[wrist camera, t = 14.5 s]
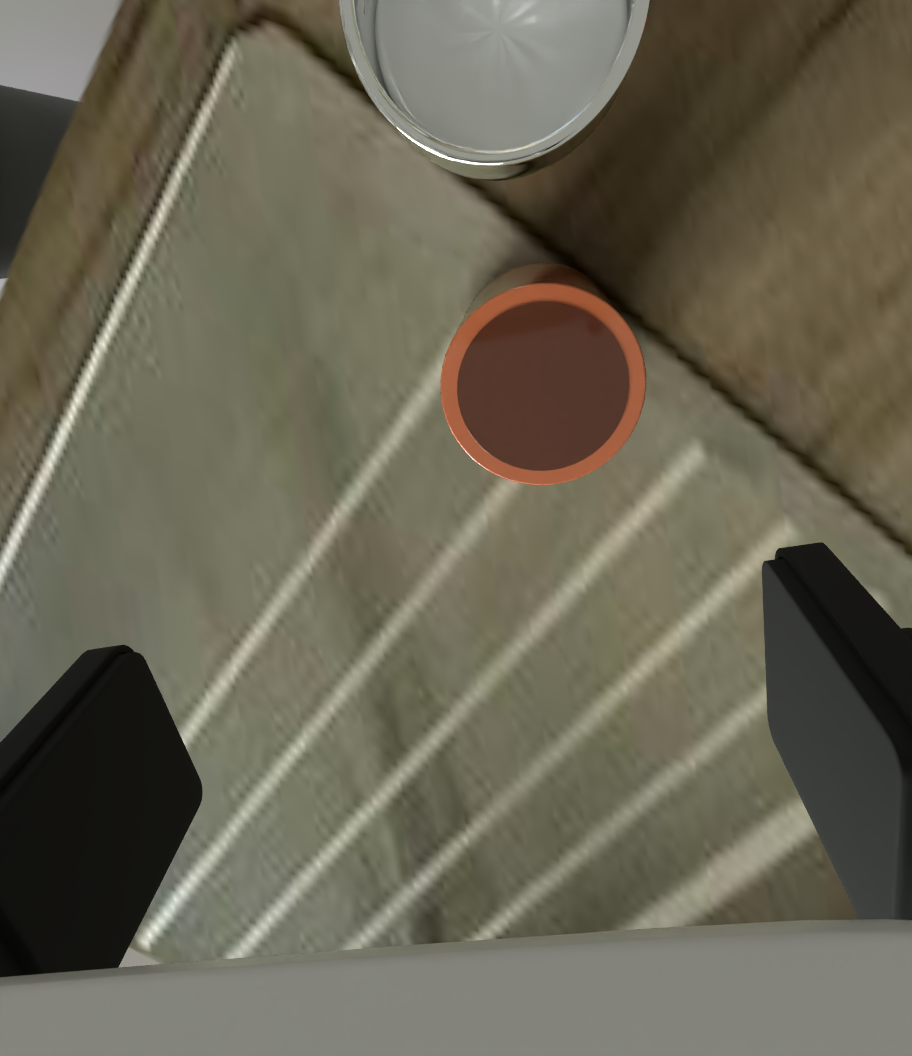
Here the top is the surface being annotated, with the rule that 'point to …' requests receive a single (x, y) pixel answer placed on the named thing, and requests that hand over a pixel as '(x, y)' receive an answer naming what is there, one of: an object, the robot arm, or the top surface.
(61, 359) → the top surface
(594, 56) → the beer glass
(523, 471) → the terracotta cup
